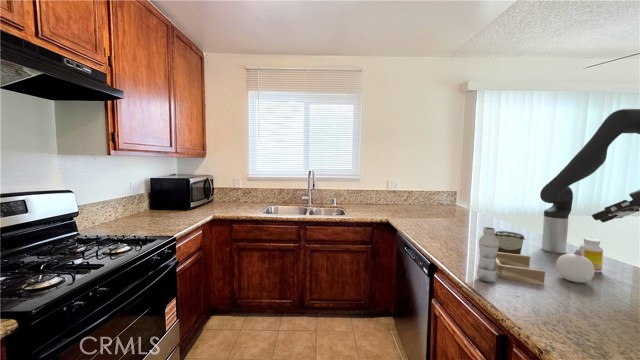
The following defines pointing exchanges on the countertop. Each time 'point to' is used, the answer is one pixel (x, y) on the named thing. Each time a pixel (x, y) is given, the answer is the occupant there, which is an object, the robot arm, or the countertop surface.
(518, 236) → the food container
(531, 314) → the countertop surface
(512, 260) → the bay
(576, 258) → the ornament
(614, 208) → the robot arm
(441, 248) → the countertop surface
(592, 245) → the supplement bottle
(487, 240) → the plastic bottle
